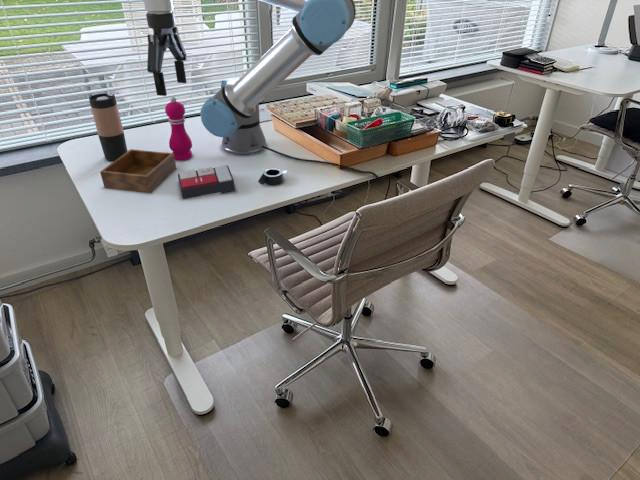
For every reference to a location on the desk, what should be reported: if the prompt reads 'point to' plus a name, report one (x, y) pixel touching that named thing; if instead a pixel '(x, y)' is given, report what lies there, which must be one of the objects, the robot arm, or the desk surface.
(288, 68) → the robot arm
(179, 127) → the pepper mill
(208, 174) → the black red grey box
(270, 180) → the duct tape
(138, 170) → the wooden box
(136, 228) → the desk surface
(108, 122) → the travel mug
